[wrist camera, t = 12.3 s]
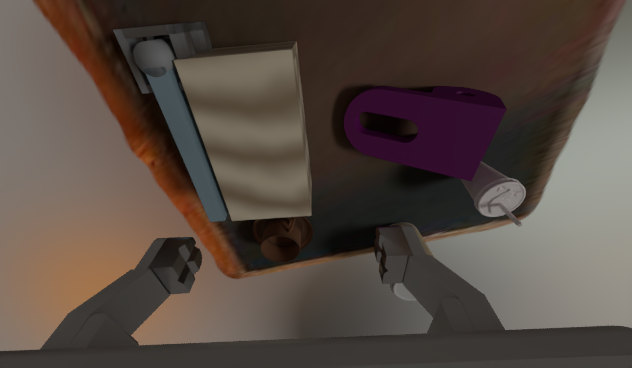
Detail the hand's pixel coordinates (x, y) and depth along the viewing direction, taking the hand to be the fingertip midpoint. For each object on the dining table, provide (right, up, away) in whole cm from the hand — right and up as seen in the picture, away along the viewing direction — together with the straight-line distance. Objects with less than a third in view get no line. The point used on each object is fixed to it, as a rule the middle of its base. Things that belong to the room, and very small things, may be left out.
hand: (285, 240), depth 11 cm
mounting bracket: (+15, +13, +27) cm, 34 cm away
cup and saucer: (-5, -6, +40) cm, 41 cm away
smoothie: (+27, +6, +32) cm, 43 cm away
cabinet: (-9, +13, +27) cm, 31 cm away
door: (-15, +12, +27) cm, 33 cm away
